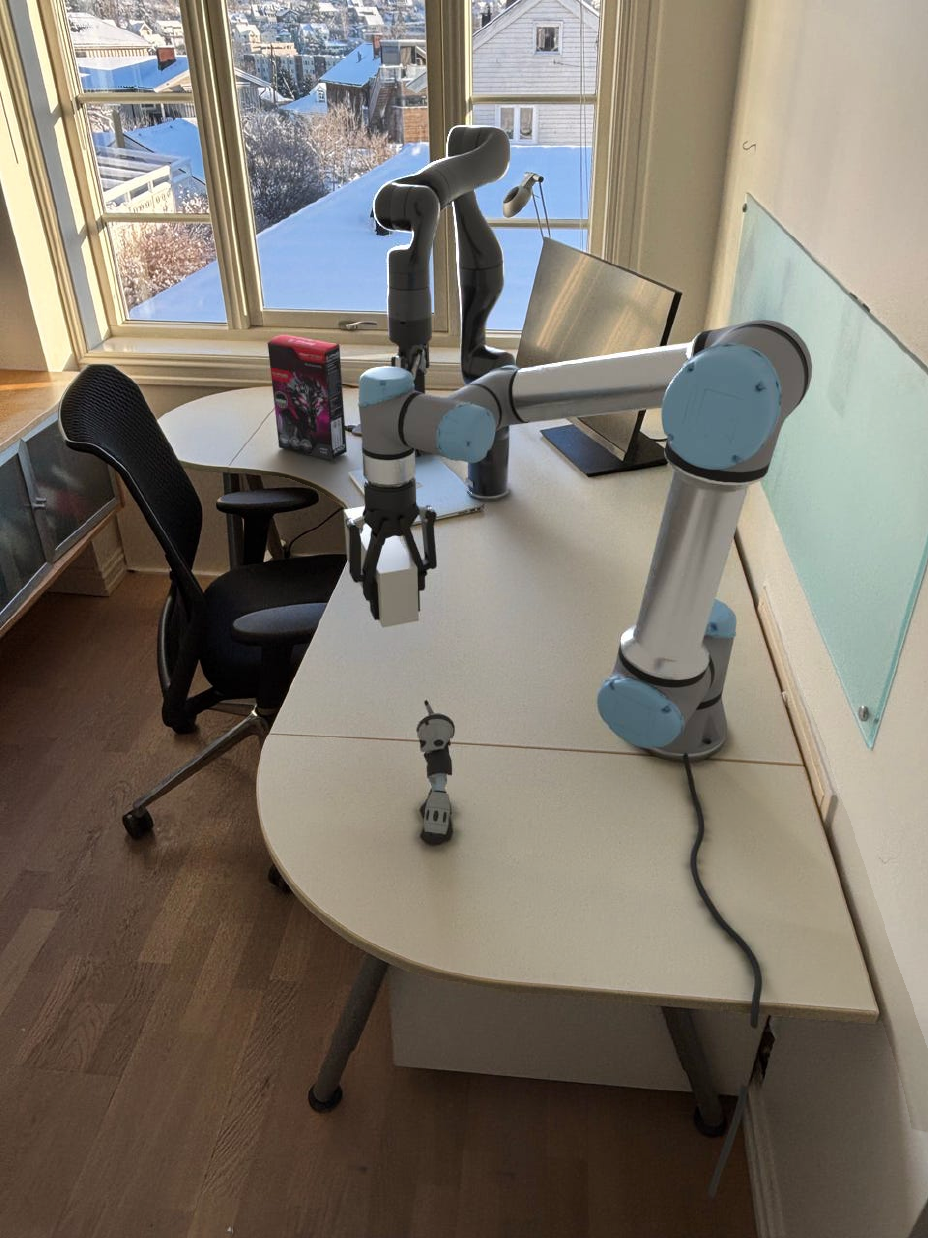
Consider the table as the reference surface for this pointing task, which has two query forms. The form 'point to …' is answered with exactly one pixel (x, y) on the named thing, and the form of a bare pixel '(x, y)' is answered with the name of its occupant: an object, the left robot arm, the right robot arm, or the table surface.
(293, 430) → the graphics card box
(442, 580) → the table surface
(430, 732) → the robot
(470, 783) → the table surface
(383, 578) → the box
